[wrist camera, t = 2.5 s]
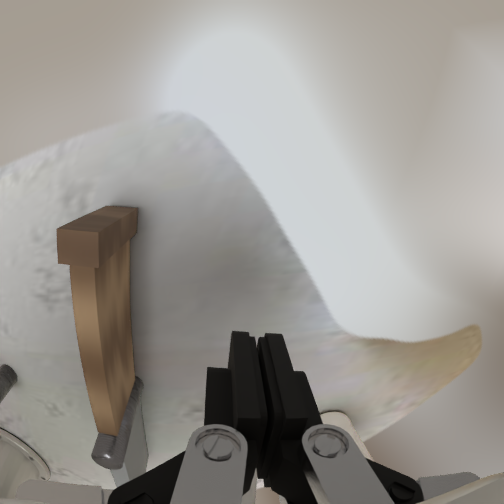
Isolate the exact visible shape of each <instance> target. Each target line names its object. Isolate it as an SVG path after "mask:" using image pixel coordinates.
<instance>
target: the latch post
mask: <svg viewBox="0 0 504 504" xmlns="http://www.w3.org/2000/svg"><path fill="white" fill-rule="evenodd" d="M16 381H17V375H16V373H15V372H14V370H13V369H12V368H11V367H9V366H8V365H2V366H1V367H0V403H1V402H2V400H3V399H4V397H5V396H6V395H7V393H8V392H9V391H10V389H11V388H12V386H13V385H14V384H15V382H16Z"/></svg>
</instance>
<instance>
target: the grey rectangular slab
mask: <svg viewBox="0 0 504 504" xmlns="http://www.w3.org/2000/svg"><path fill="white" fill-rule="evenodd" d="M147 461H148V450H147V444H146V438H145V432H144V425H143V417H142V410H141V401H139V404H138V408H137V412H136V415H135V419H134V423H133V427H132V431H131V434H130V438H129V442H128V446H127V450H126V454H125V459H124V463H123V467H122V468H121V469H118V470H112V469H110V470H111V473H112V476H113V478H114V481H115V484H116V486H117V487H119V486H120V485H122V484H124V483H126V482H128V481H130V480H132V479H134V478H136V477H138V476H140V475H142V474H144V473H146V467H147Z"/></svg>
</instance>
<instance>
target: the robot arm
mask: <svg viewBox="0 0 504 504" xmlns="http://www.w3.org/2000/svg"><path fill="white" fill-rule="evenodd" d="M255 470H256V471H257V477H258V479H264V487H271V489H272V490H273V491H274V492H276V493H277V494H279V498H280V503H281V504H504V472H503V473H498V474H494V475H491V476H487V477H485V478H481V479H480V478H479V477H478V476H477V475H475V474H473V473H471V472H463V473H456V474H448V475H440V476H432V477H421V478H419V479H418V480H417V481H415V480H414V479H412V478H410V477H408V476H406V475H403V474H401V473H399V472H396V471H394V470H392V469H390V468H387V467H385V466H383V465H381V464H378V463H376V462H374V461H372V460H370V459H368V458H365V457H364V455H363V454H362V452H361V451H360V449H359V448H358V446H357V444H356V443H355V441H354V440H353V438H352V437H351V436H350V434H349V433H348V432H347V431H345V430H344V429H342V428H340V427H337V426H335V425H329V424H323V422H322V419H321V416H320V414H319V411H318V408H317V405H316V402H315V399H314V397H313V394H312V391H311V388H310V385H309V382H308V380H307V377H306V374H305V372H303V371H294V370H293V367H292V364H291V360H290V357H289V354H288V351H287V348H286V344H285V341H284V338H283V335H282V334H272V333H266V334H265V336H264V337H259V339H258V345H257V347H256V341H255V337H251V336H249V332H239V331H232V335H231V343H230V353H229V362H228V369H227V368H213V367H207V381H206V399H205V418H204V426H203V427H200V428H198V429H197V430H196V431H195V432H193V433H192V435H191V437H190V439H189V442H188V445H187V448H186V451H184V452H182V453H180V454H179V455H177V456H175V457H174V458H172V459H170V460H168V461H166V462H165V463H163V464H161V465H159V466H157V467H156V468H154V469H152V470H150V471H148V472H146V473H144V474H142V475H140V476H138V477H136V478H134V479H132V480H130V481H128V482H126V483H124V484H122V485H120V486H119V487H117V488H116V489H114V490H107V489H102V487H101V486H88V485H76V484H67V483H58V482H51V481H48V480H49V477H50V472H49V469H48V467H47V466H46V464H45V463H44V462H43V460H42V459H41V458H40V457H39V456H38V455H37V454H36V453H35V452H34V451H33V450H32V449H31V448H29V447H28V446H27V445H26V444H24V443H23V442H22V441H20V440H19V439H17V438H16V437H14V436H13V435H11V434H10V433H8V432H6V431H4V430H2V429H0V504H241V502H242V496H243V495H244V494H246V493H247V492H248V491H249V490H250V487H251V483H252V480H253V477H254V473H255Z"/></svg>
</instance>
